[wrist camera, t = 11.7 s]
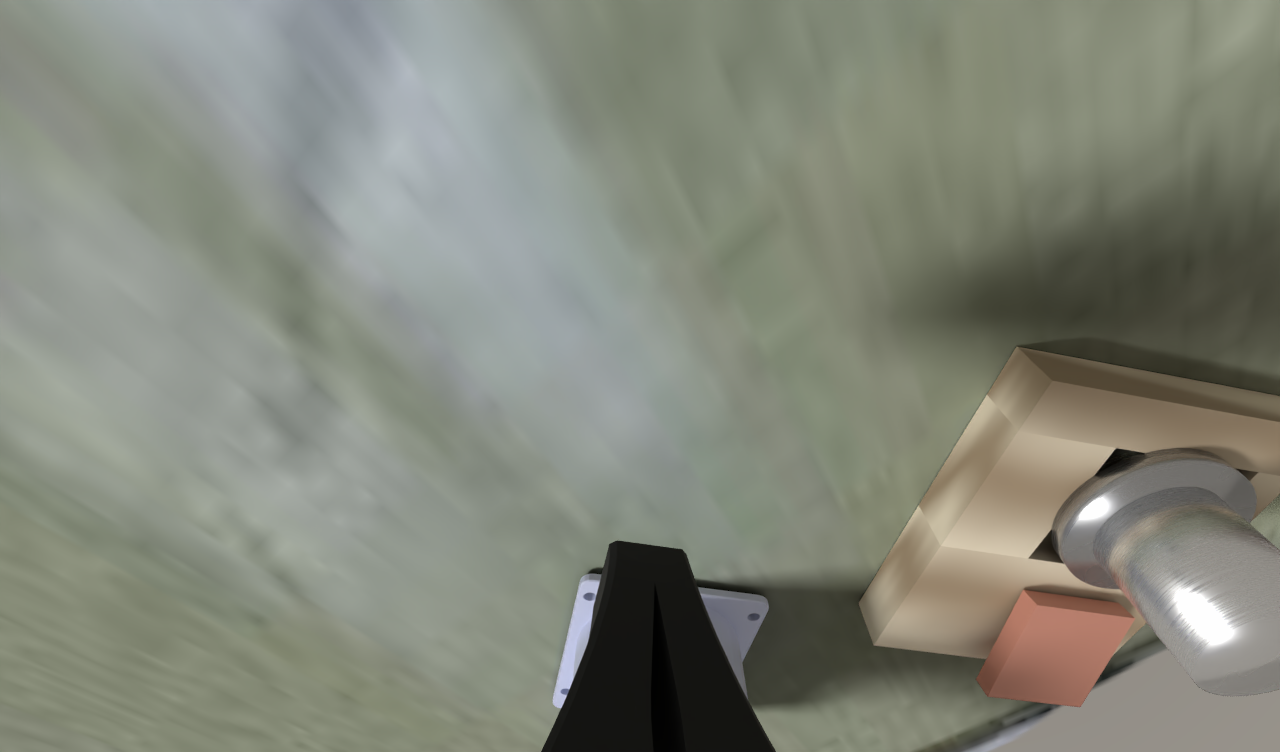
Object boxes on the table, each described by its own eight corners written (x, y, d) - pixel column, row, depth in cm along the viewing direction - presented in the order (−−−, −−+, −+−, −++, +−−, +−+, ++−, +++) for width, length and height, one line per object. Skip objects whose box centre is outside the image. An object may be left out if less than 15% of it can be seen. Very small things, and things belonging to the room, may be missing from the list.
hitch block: (1067, 630, 28) (1095, 672, 26) (858, 603, 27) (873, 645, 25) (1284, 397, 21) (1341, 433, 19) (1016, 346, 20) (1052, 380, 18)
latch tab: (1066, 690, 25) (1080, 707, 24) (975, 679, 25) (987, 696, 24) (1118, 603, 23) (1135, 618, 23) (1022, 589, 23) (1036, 605, 22)
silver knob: (1128, 542, 24) (1286, 721, 19) (994, 523, 24) (1113, 702, 18) (1231, 428, 21) (1459, 598, 15) (1080, 402, 21) (1258, 570, 15)
